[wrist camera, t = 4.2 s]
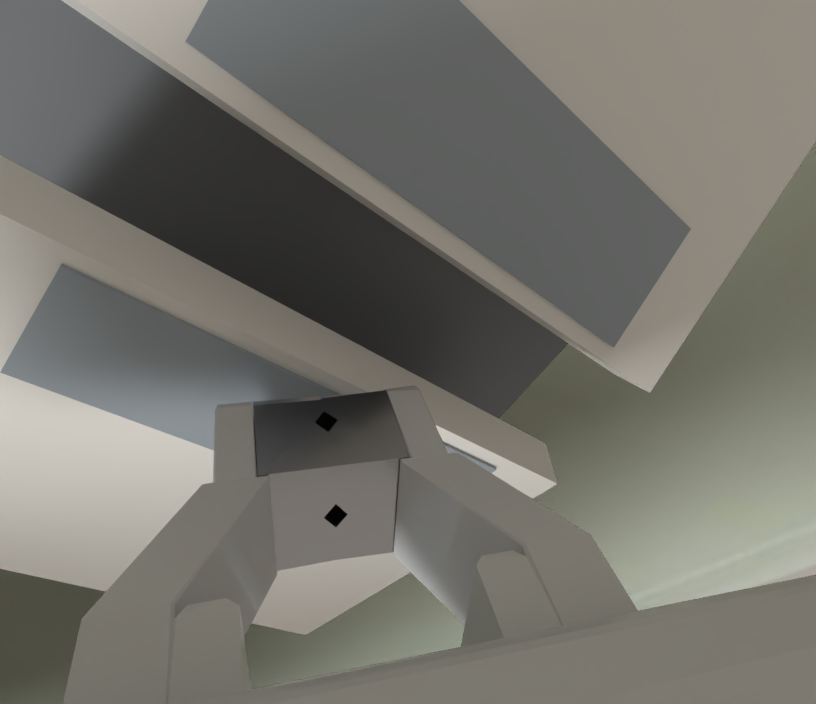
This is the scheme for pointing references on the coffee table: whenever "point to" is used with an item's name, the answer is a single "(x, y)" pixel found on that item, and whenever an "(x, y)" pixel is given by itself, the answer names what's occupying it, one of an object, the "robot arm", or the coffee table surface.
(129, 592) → the robot arm
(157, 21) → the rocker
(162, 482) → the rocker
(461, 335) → the switch console
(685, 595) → the coffee table surface
